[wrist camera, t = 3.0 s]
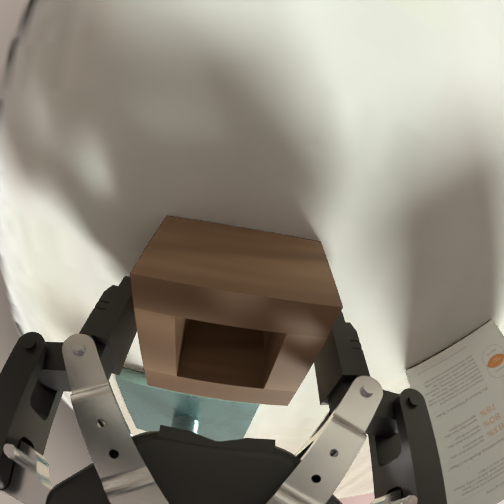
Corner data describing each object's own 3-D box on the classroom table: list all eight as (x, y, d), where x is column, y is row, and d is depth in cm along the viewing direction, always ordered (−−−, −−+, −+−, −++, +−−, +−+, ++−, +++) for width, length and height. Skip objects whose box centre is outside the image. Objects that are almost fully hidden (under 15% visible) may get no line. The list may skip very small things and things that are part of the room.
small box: (413, 397, 19) (443, 522, 8) (403, 369, 17) (444, 531, 6) (487, 354, 17) (534, 470, 6) (493, 315, 14) (561, 457, 3)
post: (119, 366, 17) (76, 504, 8) (259, 392, 18) (255, 542, 9) (138, 420, 22) (117, 515, 13) (239, 438, 23) (233, 537, 14)
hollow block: (167, 215, 11) (130, 273, 8) (320, 241, 12) (342, 306, 8) (166, 324, 14) (147, 385, 11) (283, 342, 15) (287, 405, 12)
